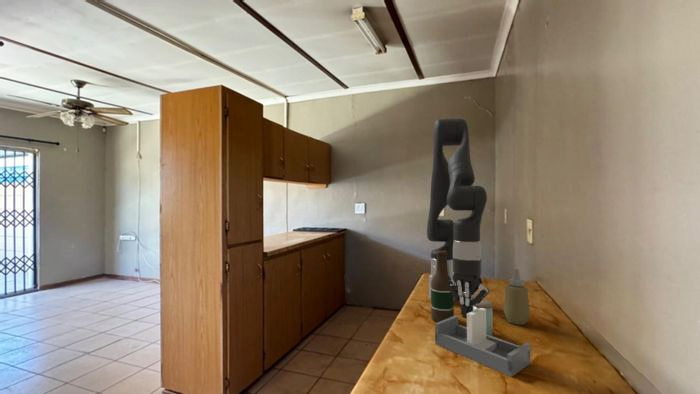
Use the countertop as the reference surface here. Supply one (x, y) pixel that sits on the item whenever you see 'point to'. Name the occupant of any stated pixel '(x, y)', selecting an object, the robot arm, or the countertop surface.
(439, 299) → the beer bottle
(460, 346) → the gray rectangular tray
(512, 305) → the squeeze bottle
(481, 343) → the pusher
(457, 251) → the robot arm
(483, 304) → the jar
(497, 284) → the countertop surface
